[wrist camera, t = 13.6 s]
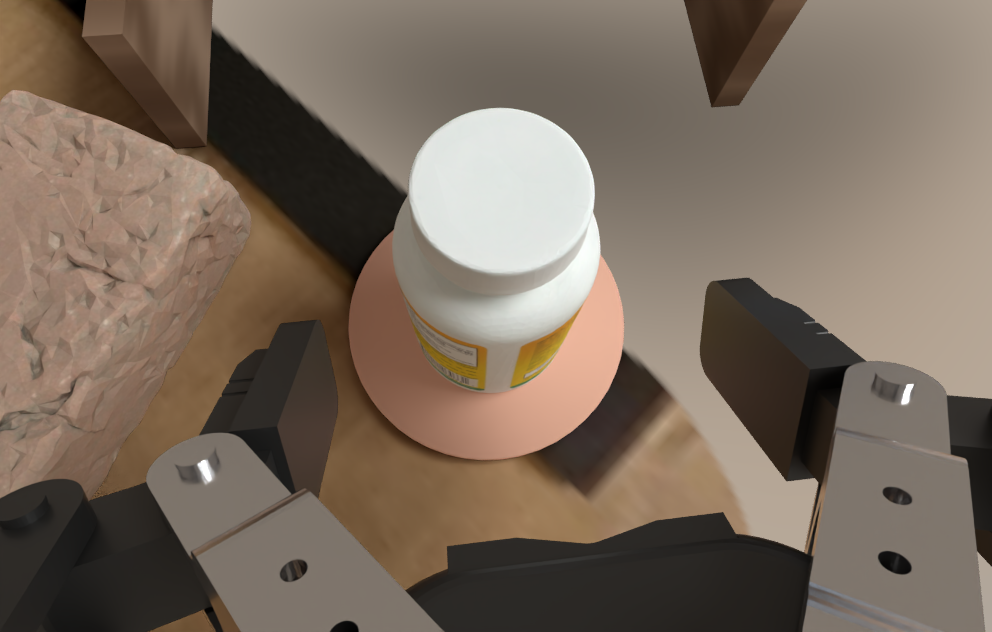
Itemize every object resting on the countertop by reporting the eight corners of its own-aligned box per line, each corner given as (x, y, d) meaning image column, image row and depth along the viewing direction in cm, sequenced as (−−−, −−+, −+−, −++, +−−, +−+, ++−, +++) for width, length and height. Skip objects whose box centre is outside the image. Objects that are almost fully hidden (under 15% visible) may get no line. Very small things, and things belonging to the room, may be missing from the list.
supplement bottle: (418, 400, 21) (369, 313, 12) (415, 258, 22) (370, 84, 13) (572, 390, 21) (643, 299, 12) (558, 250, 23) (610, 75, 13)
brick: (8, 662, 19) (-138, 708, 14) (-208, 550, 20) (-411, 561, 15) (274, 226, 24) (227, 159, 19) (93, 150, 24) (7, 69, 20)
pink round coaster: (294, 341, 22) (290, 337, 21) (468, 157, 24) (468, 150, 24) (509, 522, 20) (509, 523, 20) (672, 304, 23) (676, 300, 22)
